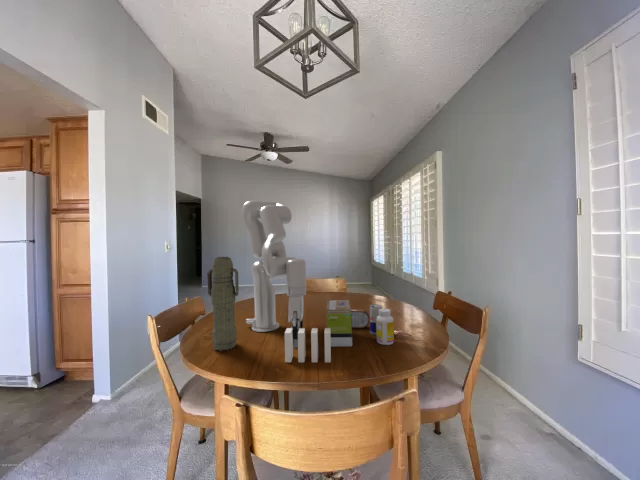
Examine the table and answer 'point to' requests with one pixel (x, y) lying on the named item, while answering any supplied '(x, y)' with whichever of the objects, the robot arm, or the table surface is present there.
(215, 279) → the thermos
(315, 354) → the domino
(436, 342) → the table surface
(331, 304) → the tea box
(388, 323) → the supplement bottle
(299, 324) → the domino
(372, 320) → the energy drink
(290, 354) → the domino
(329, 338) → the domino
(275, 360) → the table surface
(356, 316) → the tin
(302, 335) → the domino
